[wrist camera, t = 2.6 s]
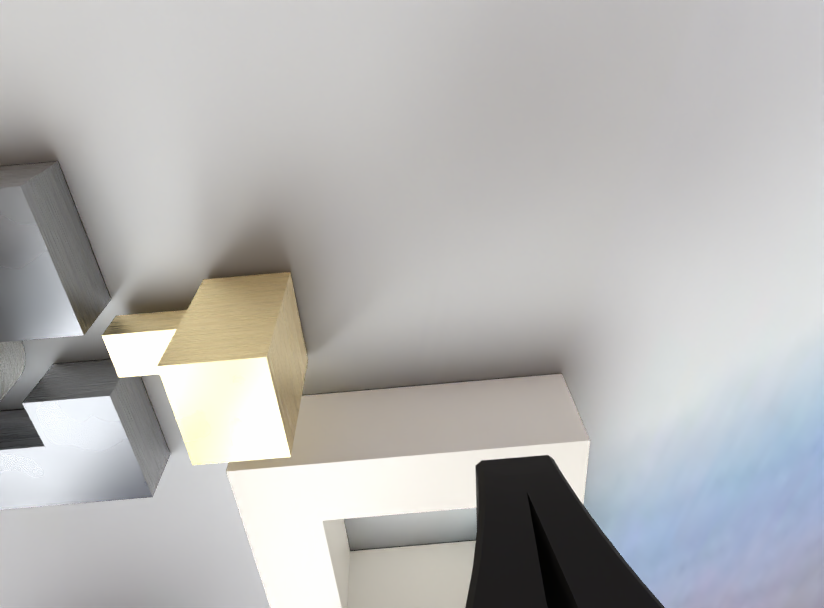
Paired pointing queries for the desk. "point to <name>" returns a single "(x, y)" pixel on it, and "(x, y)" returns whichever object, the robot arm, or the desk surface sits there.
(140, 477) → the socket block
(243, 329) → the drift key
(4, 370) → the metal cylinder
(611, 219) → the desk surface
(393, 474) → the white square block
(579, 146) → the desk surface
